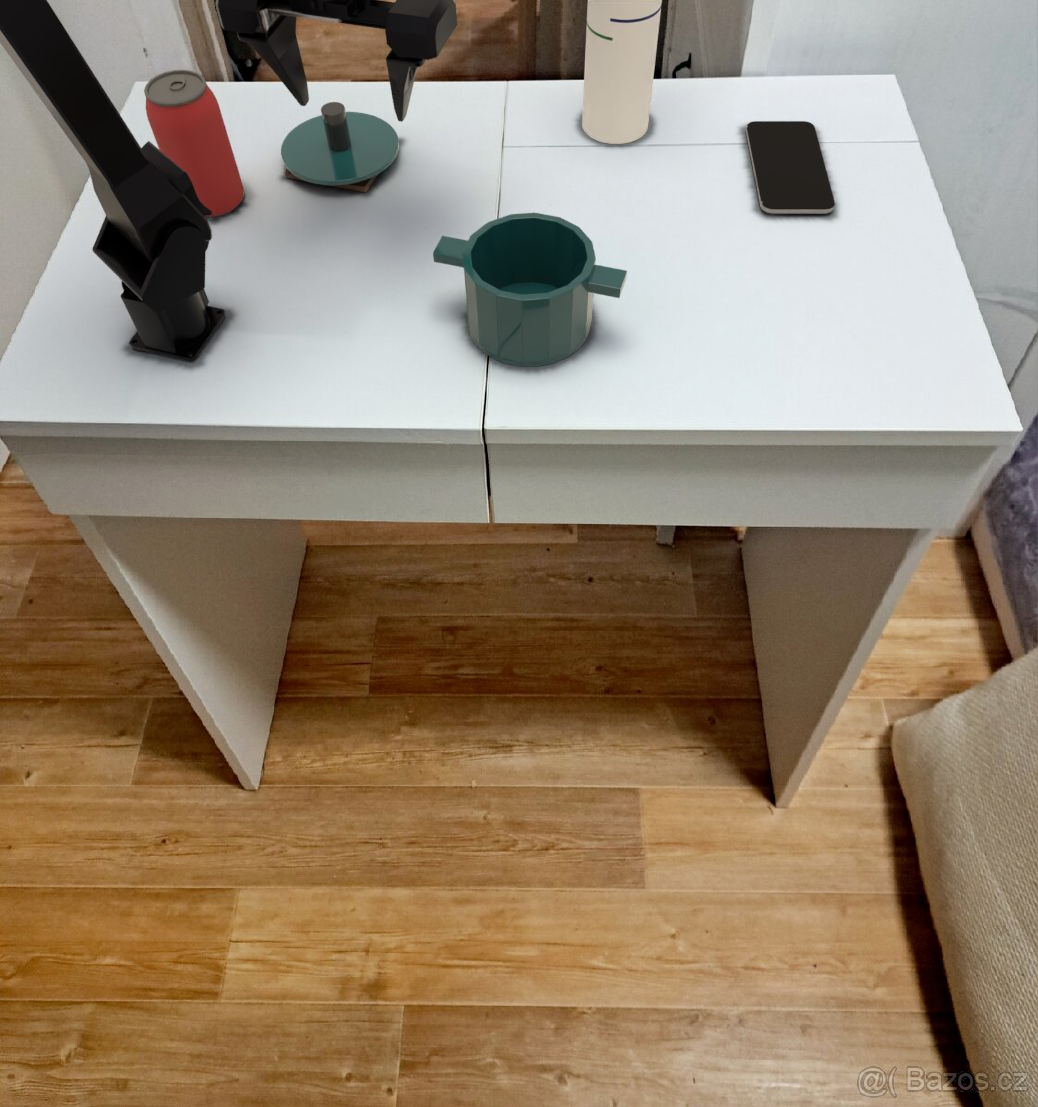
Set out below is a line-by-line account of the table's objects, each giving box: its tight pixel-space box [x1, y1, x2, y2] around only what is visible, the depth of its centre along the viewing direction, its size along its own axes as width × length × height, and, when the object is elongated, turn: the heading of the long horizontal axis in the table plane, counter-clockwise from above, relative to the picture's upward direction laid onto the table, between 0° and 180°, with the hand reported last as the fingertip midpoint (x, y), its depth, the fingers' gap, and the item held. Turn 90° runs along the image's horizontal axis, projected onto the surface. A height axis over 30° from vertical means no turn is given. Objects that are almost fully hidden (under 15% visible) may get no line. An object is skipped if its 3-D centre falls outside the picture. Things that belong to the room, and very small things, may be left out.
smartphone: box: [745, 120, 836, 215], centre depth 95 cm, size 7×1×15 cm
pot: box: [432, 212, 628, 367], centre depth 80 cm, size 11×16×8 cm
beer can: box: [143, 69, 245, 219], centre depth 89 cm, size 7×7×12 cm
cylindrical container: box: [581, 0, 663, 145], centre depth 89 cm, size 7×7×25 cm
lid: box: [280, 101, 400, 186], centre depth 94 cm, size 12×12×5 cm
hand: (353, 111), depth 81 cm, fingers open, 9 cm apart
